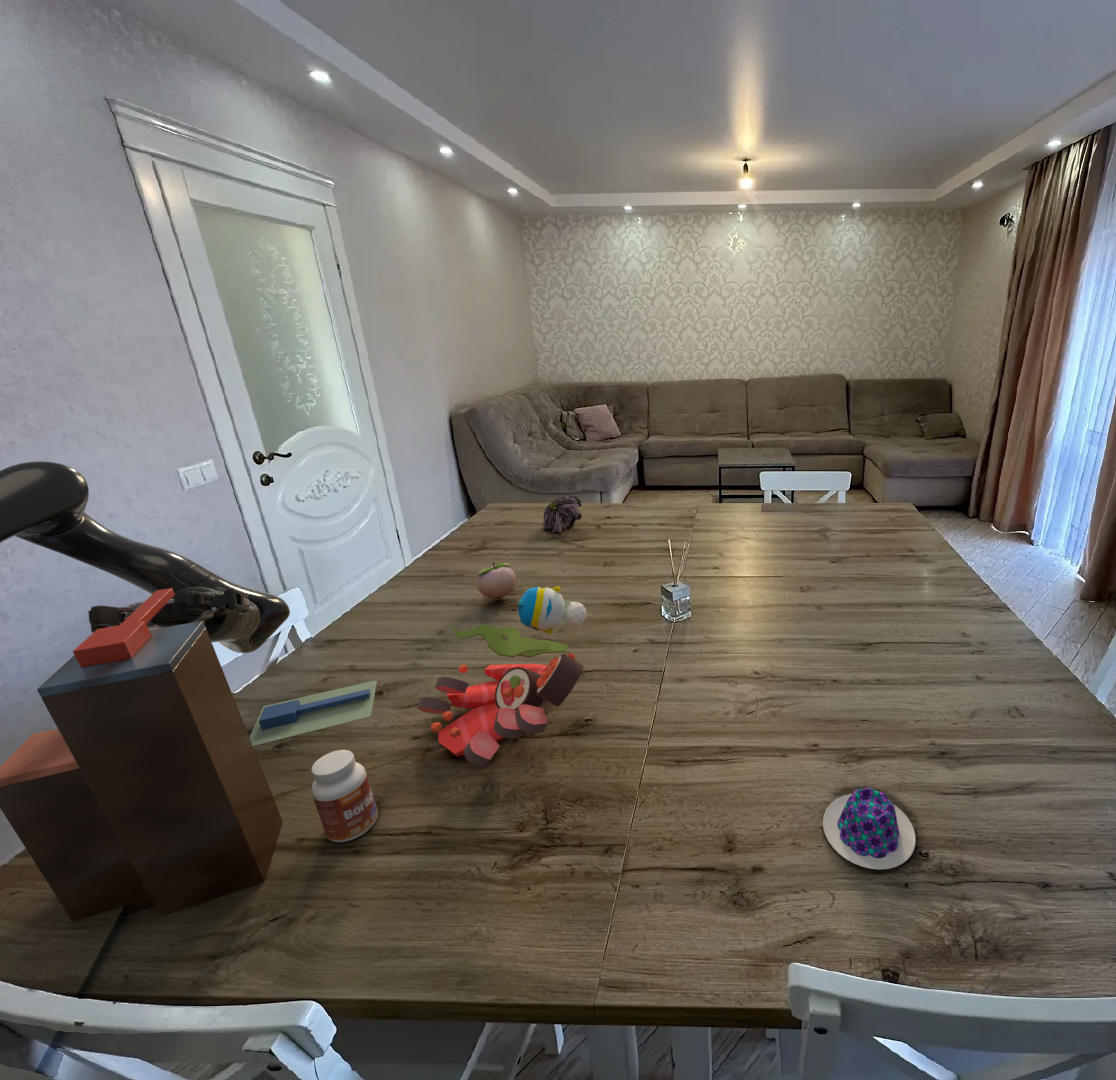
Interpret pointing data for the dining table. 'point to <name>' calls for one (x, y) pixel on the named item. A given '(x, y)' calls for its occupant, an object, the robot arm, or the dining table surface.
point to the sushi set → (509, 681)
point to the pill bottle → (343, 796)
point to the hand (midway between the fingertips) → (143, 607)
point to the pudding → (869, 830)
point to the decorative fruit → (496, 581)
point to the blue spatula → (304, 709)
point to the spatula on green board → (318, 714)
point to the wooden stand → (142, 783)
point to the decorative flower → (561, 514)
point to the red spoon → (122, 634)
